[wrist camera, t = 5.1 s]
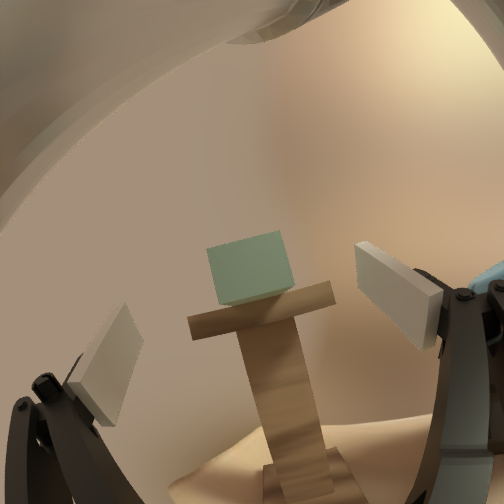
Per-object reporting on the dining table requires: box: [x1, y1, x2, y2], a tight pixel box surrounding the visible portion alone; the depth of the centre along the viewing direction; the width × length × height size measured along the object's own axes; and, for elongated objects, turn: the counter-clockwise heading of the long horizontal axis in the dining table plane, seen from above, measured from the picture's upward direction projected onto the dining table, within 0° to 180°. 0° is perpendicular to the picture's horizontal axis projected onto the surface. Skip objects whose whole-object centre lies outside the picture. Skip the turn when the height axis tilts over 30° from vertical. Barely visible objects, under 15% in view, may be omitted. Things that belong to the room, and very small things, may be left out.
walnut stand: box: [187, 281, 369, 504], centre depth 28 cm, size 18×12×28 cm, turn 178°
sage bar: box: [207, 231, 295, 306], centre depth 24 cm, size 19×4×3 cm, turn 178°
